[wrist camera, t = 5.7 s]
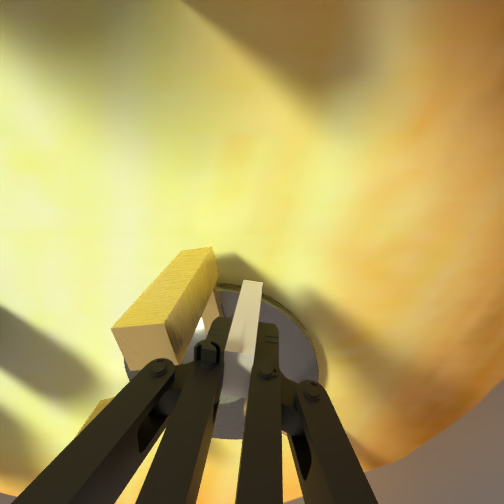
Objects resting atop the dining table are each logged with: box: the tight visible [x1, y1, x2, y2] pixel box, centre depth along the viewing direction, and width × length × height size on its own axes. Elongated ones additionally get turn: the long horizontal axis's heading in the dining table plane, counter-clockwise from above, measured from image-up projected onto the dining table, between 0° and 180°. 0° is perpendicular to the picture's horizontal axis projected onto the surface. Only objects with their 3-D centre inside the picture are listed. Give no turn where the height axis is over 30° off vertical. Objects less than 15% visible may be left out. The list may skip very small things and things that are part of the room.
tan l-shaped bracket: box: [111, 247, 224, 371], centre depth 18 cm, size 11×3×10 cm, turn 10°
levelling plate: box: [124, 283, 318, 439], centre depth 26 cm, size 20×20×2 cm
